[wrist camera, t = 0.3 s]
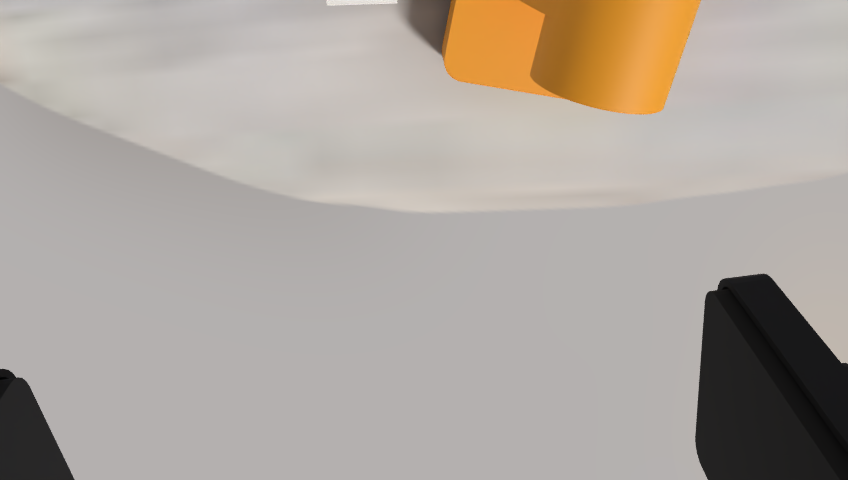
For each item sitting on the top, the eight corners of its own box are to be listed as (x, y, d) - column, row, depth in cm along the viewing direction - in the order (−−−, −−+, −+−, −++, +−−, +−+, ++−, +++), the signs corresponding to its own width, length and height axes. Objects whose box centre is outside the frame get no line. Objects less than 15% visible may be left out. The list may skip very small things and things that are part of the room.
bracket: (437, 62, 39) (456, 154, 29) (466, -90, 36) (500, -48, 25) (637, 96, 41) (725, 195, 30) (684, -47, 37) (801, 9, 27)
